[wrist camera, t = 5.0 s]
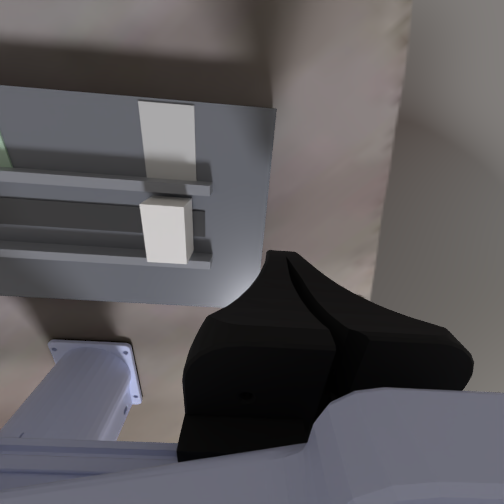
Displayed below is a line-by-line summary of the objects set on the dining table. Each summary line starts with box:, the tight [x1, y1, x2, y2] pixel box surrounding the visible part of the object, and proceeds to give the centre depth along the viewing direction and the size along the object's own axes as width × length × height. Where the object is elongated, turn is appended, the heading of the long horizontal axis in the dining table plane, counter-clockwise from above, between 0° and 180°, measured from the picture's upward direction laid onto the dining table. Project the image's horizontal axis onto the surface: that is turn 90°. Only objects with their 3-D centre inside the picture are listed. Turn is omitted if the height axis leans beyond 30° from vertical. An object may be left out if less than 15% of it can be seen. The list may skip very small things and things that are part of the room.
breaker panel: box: [0, 85, 277, 308], centre depth 16 cm, size 14×22×4 cm, turn 86°
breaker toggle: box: [139, 196, 194, 264], centre depth 15 cm, size 4×2×2 cm, turn 176°
